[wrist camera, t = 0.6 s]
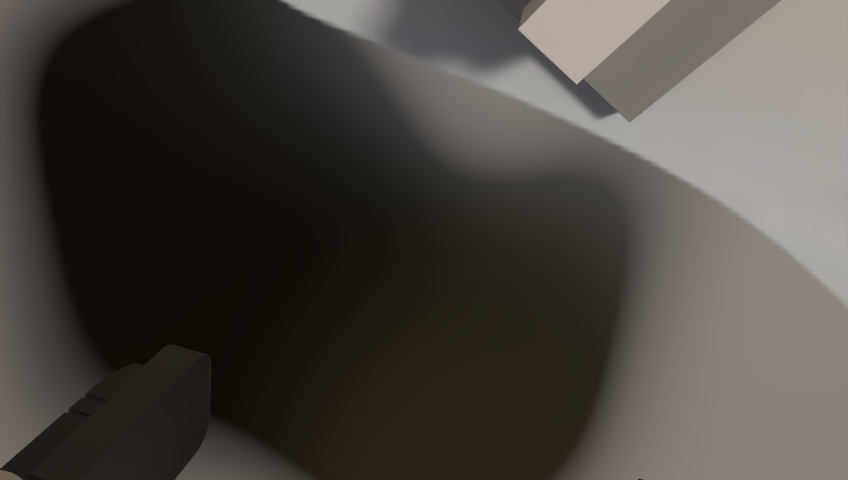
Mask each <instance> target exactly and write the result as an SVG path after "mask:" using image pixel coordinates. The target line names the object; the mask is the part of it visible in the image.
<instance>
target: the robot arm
mask: <svg viewBox="0 0 848 480" xmlns="http://www.w3.org/2000/svg"><path fill="white" fill-rule="evenodd" d="M210 377H211V362H210V358H209V356H208V355H206V354H202V353H199V352H195V351H191V350H188V349H184V348H180V347H177V346H174V345H168V346H166V347H164V348H163V349H162V350H161V351H160V352H159V353H157V354H156V355H155V356H154V357H153V358H152V359H151V360H150V361H149V362H148V363H147V364H146V365H144V366H142V365H138V364H135V363H134V364H131V365H129V366H127V367H125V368H123V369H120V370H118V371H116V372H114V373H112V374H110V375H107V376H106V377H105V378H104V379H102V380H101V381H100V382H99V383H98V384H97V385H96V386H94V387H93V388H92V389H91V390H90V391H89V392H88V393H87V394H86V396H85V398H81V399H80V400H78V401H77V402H76V403H75V404H74V405H73V406H72V407H70V408H69V412H68V413H64V414H62V415H61V416H60V417H59V418H58V419H57V420H56V421H54V422H53V423H52V424H51V425H50V426H49V427H48V428H47V429H45V430H44V431H43V432H42V433H41V434H40V435H38V436H37V437H36V438H35V439H34V440H33V441H32V442H31V443H29V444H28V445H27V446H26V447H25V448H24V449H22V450H21V451H20V452H19V453H18V454H17V455H15V456H14V457H13V458H12V459H11V460H10V461H9V462H7V463H6V464H5V465H4V466H3V467H2V468H0V480H175V479H176V477H177V476H178V475H179V474H180V472H181V471H182V470H183V469H184V467H185V466H186V465H187V463H188V462H189V461H190V460H191V459H192V457H193V456H194V455H195V453H196V452H197V451H198V449H199V448H200V446H201V444H202V442H203V440H204V438H205V435H206V432H207V429H208V425H209V419H210V379H211V378H210ZM639 480H642V479H639Z"/></svg>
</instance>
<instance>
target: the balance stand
mask: <svg viewBox="0 0 848 480" xmlns="http://www.w3.org/2000/svg"><path fill="white" fill-rule="evenodd" d="M500 1H501V2H502V3H504V4H505V5H506V6H507V7H508V8H509V9H510V10H511V11H512V12H513V13H514V14H515V15H516V16H517V17H518V18H519V19H520V24H519V27H518V30H519V31H520V32H521V33H522V34H523V35H524V36H525V37H527V38H528V39H529V40H530V41H531V42H532V43H533V44H534V45H535V46H536V47H537V48H538V49H539V50H540V51H541V52H543V53H544V54H545V55H546V56H547V57H548V58H549V59H550V60H551V61H552V62H553V63H554V64H555V65H556V66H557V67H558V68H560V69H561V70H562V71H563V72H564V73H565V74H566V75H567V76H568V77H569V78H570V79H571V80H572V81H573V82H574V83H576V84H578V83H579V82H580V81H581V80H582V79H584V80H585V81H586V82H587V83H588V84H589V85H590V86H591V87H592V88H593V89H595V90H596V91H597V92H598V93H599V94H600V95H601V96H602V97H603V98H604V99H605V100H606V101H607V102H608V103H609V104H610V105H611V106H613V107H614V108H615V109H616V110H617V111H618V112H619V113H620V114H621V115H622V116H623V117H624V118H625V119H626V120H627V121H628V122H629V123H630V122H631V121H632V120H633V119H635V118H636V117H637V116H638V115H639V114H641V113H642V112H643V111H644V110H646V109H647V108H648V107H649V106H651V105H652V104H653V103H654V102H656V101H657V100H658V99H659V98H661V97H662V96H663V95H664V94H665V93H667V92H668V91H669V90H670V89H672V88H673V87H674V86H675V85H677V84H678V83H679V82H680V81H682V80H683V79H684V78H685V77H687V76H688V75H689V74H690V73H692V72H693V71H694V70H695V69H696V68H698V67H699V66H700V65H701V64H703V63H704V62H705V61H706V60H708V59H709V58H710V57H711V56H713V55H714V54H715V53H716V52H718V51H719V50H720V49H721V48H722V47H724V46H725V45H726V44H727V43H729V42H730V41H731V40H732V39H734V38H735V37H736V36H737V35H739V34H740V33H741V32H742V31H744V30H745V29H746V28H747V27H749V26H750V25H751V24H752V23H753V22H755V21H756V20H757V19H758V18H760V17H761V16H762V15H763V14H765V13H766V12H767V11H768V10H770V9H771V8H772V7H773V6H775V5H776V4H777V3H778V2H779V1H781V0H500Z"/></svg>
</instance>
